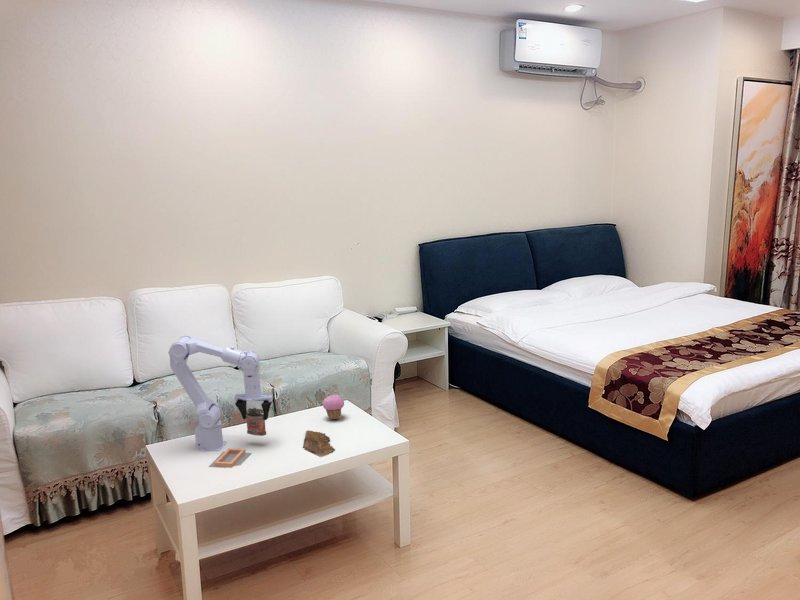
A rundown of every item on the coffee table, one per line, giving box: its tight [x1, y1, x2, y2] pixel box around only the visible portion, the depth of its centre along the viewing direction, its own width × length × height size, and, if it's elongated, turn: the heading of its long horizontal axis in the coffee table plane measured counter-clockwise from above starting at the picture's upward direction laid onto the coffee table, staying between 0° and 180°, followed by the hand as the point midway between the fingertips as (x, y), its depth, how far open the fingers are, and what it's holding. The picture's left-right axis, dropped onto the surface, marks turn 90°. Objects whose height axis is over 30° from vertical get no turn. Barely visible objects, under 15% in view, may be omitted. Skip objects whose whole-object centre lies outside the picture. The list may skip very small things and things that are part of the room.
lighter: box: [245, 407, 267, 437], centre depth 231 cm, size 8×3×10 cm, turn 68°
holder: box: [208, 448, 252, 469], centre depth 220 cm, size 11×12×2 cm
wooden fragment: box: [302, 429, 336, 458], centre depth 232 cm, size 26×11×1 cm, turn 18°
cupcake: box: [322, 394, 345, 420], centre depth 255 cm, size 9×9×10 cm
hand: (255, 418), depth 231 cm, fingers closed on lighter, 7 cm apart
